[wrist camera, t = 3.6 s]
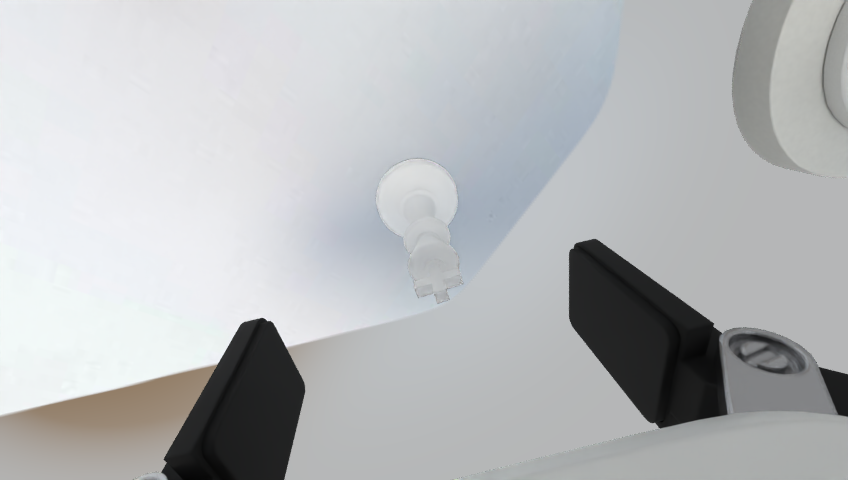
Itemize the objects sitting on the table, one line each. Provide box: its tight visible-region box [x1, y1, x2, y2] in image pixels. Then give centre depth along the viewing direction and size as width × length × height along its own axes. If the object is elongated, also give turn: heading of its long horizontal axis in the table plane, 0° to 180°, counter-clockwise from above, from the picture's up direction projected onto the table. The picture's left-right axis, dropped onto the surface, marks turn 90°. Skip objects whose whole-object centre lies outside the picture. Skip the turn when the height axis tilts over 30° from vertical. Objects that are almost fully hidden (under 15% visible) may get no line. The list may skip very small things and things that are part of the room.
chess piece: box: [376, 159, 464, 304], centre depth 15 cm, size 5×5×10 cm
